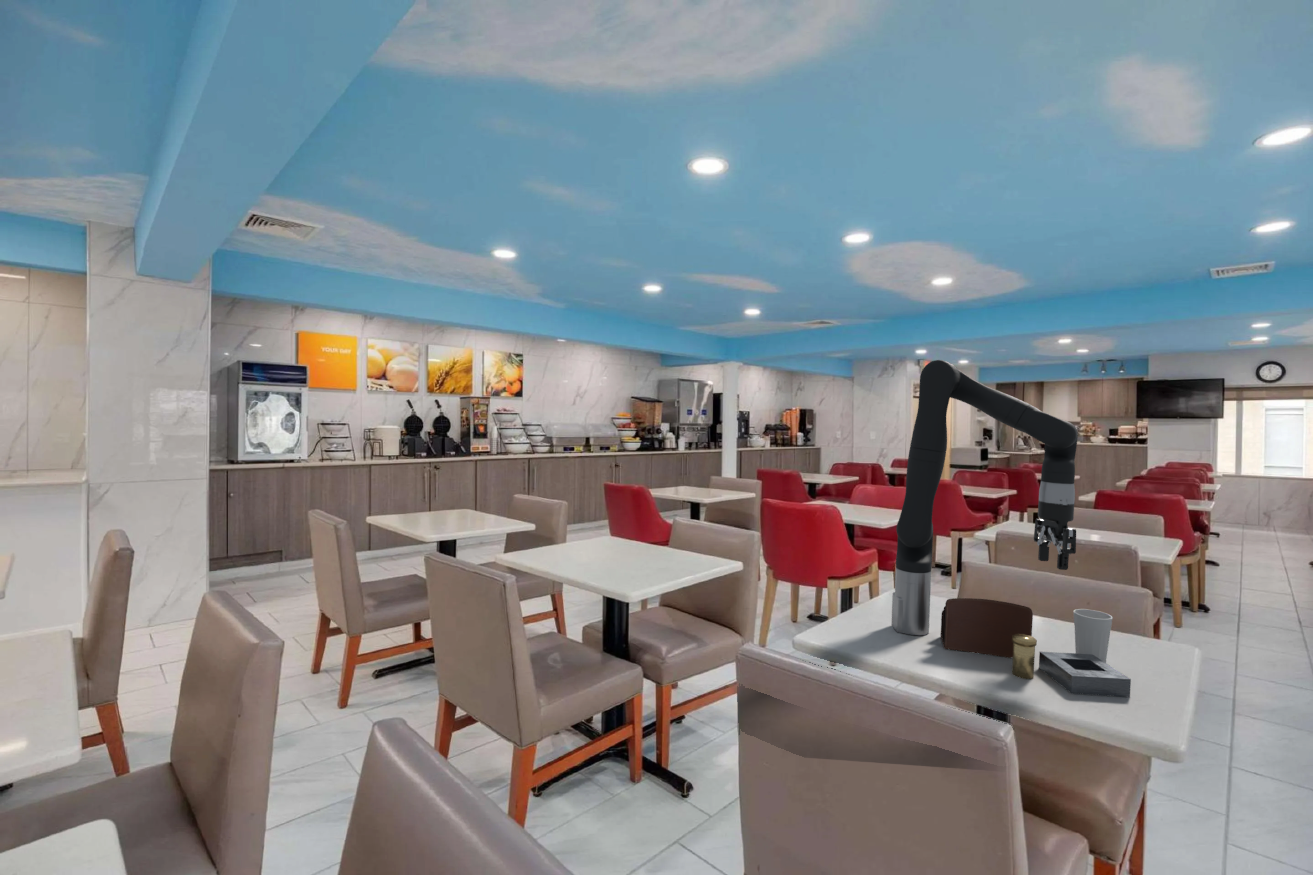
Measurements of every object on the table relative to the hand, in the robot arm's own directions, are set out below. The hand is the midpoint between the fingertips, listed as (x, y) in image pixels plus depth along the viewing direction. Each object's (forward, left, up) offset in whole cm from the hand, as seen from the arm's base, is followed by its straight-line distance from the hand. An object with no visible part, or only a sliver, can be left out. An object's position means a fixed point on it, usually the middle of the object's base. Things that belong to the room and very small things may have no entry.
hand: (1052, 564), depth 157 cm
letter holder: (-14, +4, -24) cm, 28 cm away
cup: (+9, -1, -24) cm, 25 cm away
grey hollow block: (0, -14, -24) cm, 28 cm away
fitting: (-12, -12, -24) cm, 29 cm away
